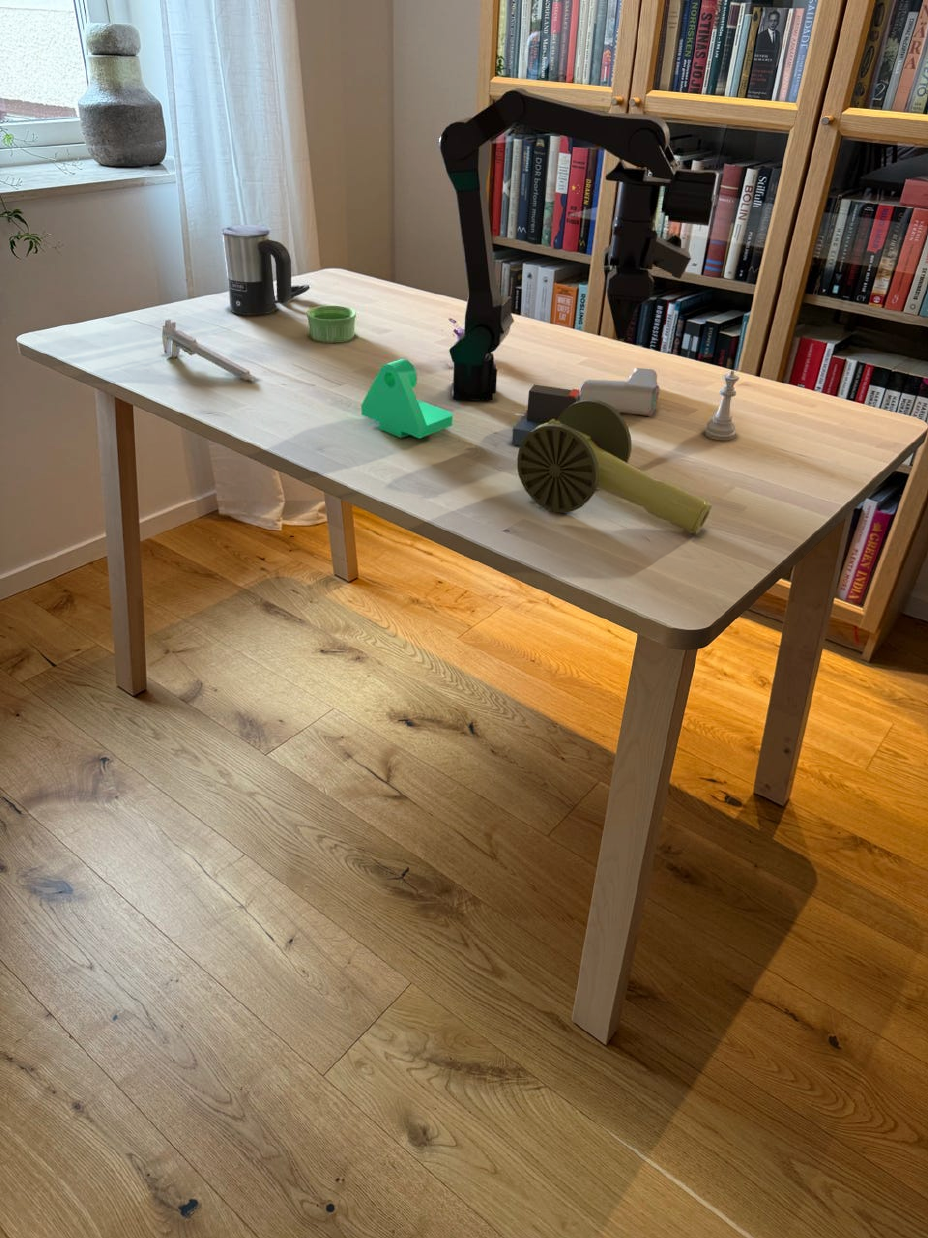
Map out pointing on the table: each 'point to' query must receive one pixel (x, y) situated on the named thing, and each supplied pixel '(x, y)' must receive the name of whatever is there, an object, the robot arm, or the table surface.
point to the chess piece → (723, 412)
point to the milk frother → (256, 270)
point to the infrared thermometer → (626, 392)
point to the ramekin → (331, 323)
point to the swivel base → (523, 429)
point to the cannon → (597, 467)
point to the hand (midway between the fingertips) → (618, 328)
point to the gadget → (549, 402)
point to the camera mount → (402, 403)
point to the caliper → (198, 350)
